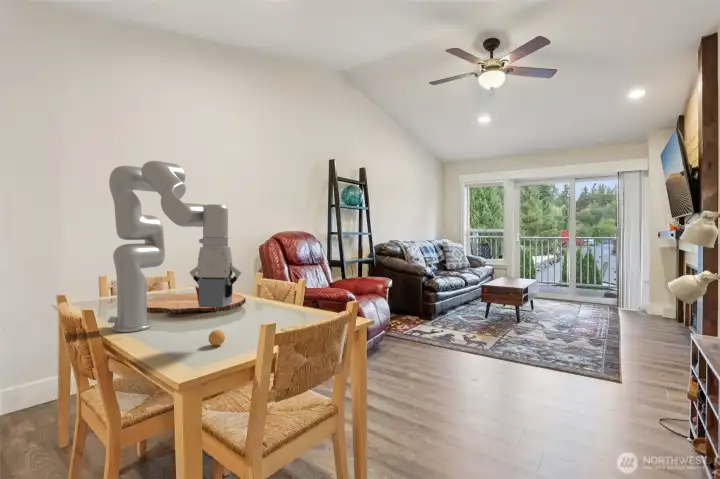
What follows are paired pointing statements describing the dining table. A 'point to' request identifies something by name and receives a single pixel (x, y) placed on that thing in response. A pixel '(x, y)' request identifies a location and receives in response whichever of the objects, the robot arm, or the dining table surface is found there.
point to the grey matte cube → (213, 292)
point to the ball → (216, 337)
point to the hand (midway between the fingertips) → (215, 296)
